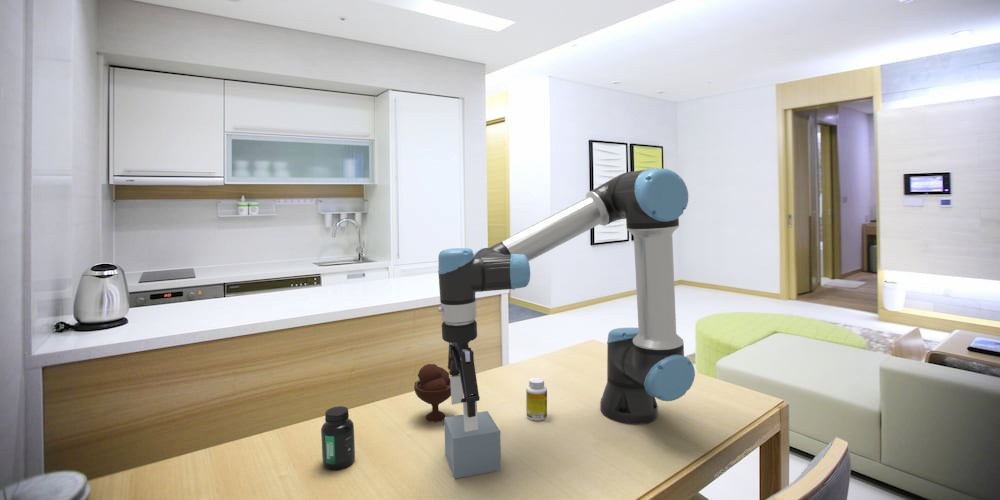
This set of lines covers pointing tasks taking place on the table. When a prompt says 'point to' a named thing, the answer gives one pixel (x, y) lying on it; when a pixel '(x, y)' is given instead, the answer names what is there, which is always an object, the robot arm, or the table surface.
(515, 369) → the table surface
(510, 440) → the table surface
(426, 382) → the ice cream bowl
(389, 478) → the table surface
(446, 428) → the block
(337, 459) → the supplement bottle
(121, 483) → the table surface
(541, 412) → the supplement bottle
